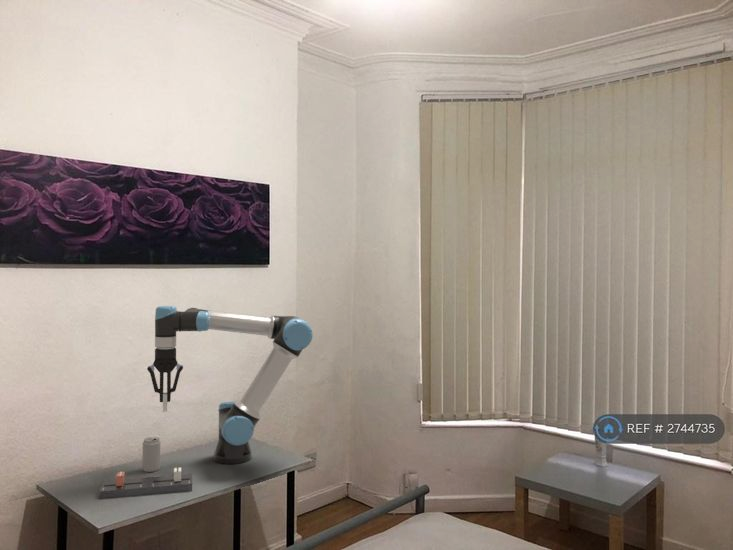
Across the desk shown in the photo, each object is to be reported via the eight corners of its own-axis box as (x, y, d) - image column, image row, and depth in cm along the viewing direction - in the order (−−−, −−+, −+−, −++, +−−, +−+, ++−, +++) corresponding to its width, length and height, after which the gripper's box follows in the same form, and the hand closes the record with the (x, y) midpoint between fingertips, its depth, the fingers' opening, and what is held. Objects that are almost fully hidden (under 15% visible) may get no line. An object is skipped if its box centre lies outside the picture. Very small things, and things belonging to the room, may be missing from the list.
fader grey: (181, 477, 217) (181, 467, 216) (181, 481, 213) (181, 470, 212) (174, 477, 216) (174, 467, 216) (173, 481, 212) (174, 471, 212)
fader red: (124, 481, 211) (124, 471, 211) (123, 485, 207) (123, 475, 207) (117, 482, 211) (117, 471, 210) (116, 486, 207) (116, 475, 207)
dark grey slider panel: (192, 480, 220) (192, 473, 220) (192, 490, 211) (192, 483, 211) (103, 487, 212) (103, 480, 212) (99, 498, 203) (99, 491, 202)
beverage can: (154, 473, 227) (154, 441, 227) (139, 472, 228) (139, 440, 228) (163, 467, 233) (163, 437, 233) (148, 466, 234) (148, 435, 234)
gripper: (184, 345, 229) (183, 407, 230) (147, 346, 226) (147, 409, 226) (183, 348, 222) (183, 412, 223) (146, 349, 219) (145, 414, 219)
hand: (165, 410), depth 225 cm, fingers closed
